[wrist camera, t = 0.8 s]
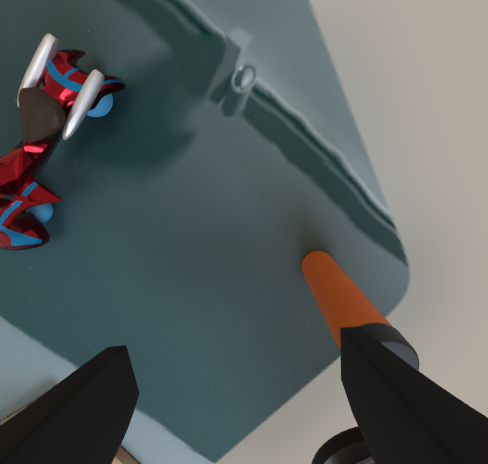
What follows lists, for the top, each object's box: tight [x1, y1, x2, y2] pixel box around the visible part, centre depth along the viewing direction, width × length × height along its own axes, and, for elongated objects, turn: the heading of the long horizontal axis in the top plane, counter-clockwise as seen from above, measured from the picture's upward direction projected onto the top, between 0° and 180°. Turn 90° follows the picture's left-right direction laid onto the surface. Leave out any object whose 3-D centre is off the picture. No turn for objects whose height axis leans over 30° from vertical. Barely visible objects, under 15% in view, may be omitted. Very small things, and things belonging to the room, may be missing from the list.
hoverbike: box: [0, 33, 126, 250], centre depth 13 cm, size 5×12×6 cm, turn 143°
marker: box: [301, 251, 419, 370], centre depth 13 cm, size 2×2×9 cm
